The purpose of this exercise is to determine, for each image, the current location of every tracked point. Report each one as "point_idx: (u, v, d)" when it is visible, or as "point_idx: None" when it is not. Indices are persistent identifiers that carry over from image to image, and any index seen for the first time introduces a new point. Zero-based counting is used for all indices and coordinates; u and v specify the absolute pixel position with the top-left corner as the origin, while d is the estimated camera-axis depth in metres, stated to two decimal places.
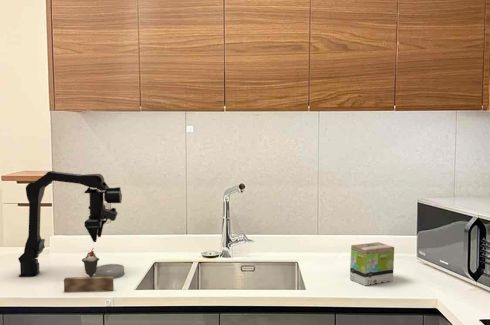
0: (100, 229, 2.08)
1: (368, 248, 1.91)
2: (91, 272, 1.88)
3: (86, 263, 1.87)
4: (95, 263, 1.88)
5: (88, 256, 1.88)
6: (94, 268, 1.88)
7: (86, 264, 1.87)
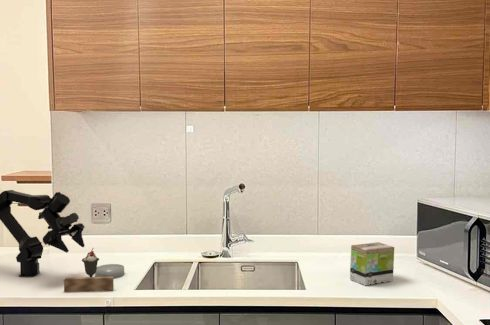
0: (79, 239, 1.97)
1: (368, 248, 1.91)
2: (91, 272, 1.88)
3: (86, 263, 1.87)
4: (95, 263, 1.88)
5: (88, 256, 1.88)
6: (94, 268, 1.88)
7: (86, 264, 1.87)
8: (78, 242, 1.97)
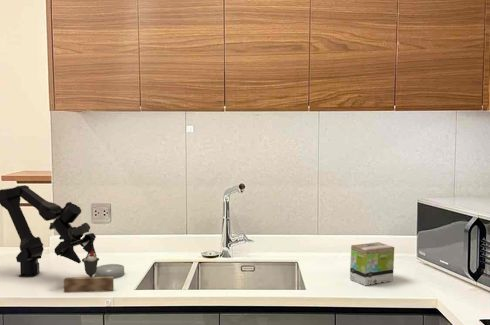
0: (91, 249, 1.95)
1: (368, 248, 1.91)
2: (91, 272, 1.88)
3: (86, 263, 1.87)
4: (95, 263, 1.88)
5: (88, 256, 1.88)
6: (94, 268, 1.88)
7: (86, 264, 1.87)
8: None
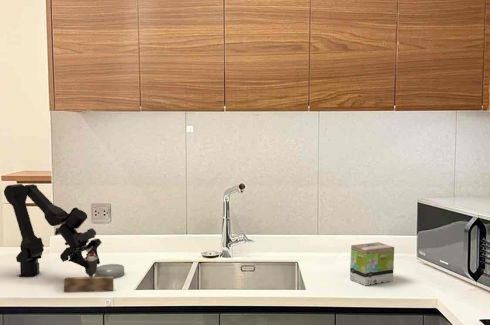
0: None
1: (368, 248, 1.91)
2: (91, 272, 1.88)
3: None
4: (95, 263, 1.88)
5: (88, 256, 1.88)
6: (94, 268, 1.88)
7: None
8: None
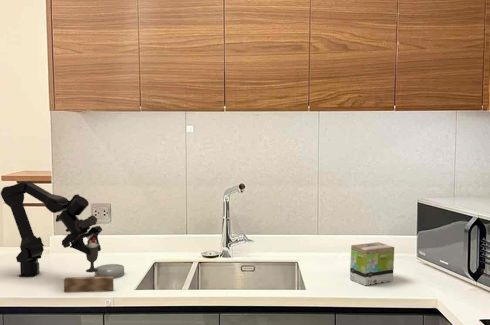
0: None
1: (368, 248, 1.91)
2: (92, 258, 1.88)
3: None
4: (96, 250, 1.89)
5: (90, 243, 1.88)
6: (95, 255, 1.89)
7: None
8: None
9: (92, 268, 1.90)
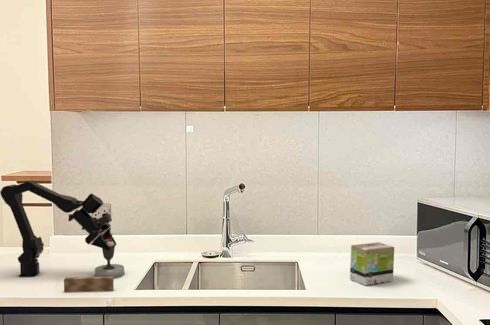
0: None
1: (368, 248, 1.91)
2: (111, 256, 2.00)
3: None
4: (114, 247, 2.01)
5: (107, 242, 2.00)
6: (113, 252, 2.01)
7: None
8: None
9: (109, 265, 2.01)
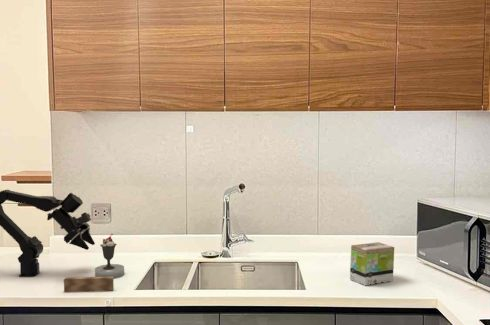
0: (89, 238, 2.06)
1: (368, 248, 1.91)
2: (111, 256, 2.00)
3: (107, 248, 1.99)
4: (114, 248, 2.01)
5: (108, 242, 2.00)
6: (113, 252, 2.01)
7: (106, 249, 1.99)
8: (87, 240, 2.06)
9: (109, 265, 2.01)
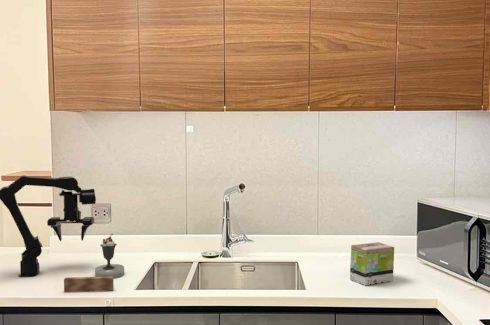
0: (60, 232, 2.09)
1: (368, 248, 1.91)
2: (111, 256, 2.00)
3: (107, 248, 1.99)
4: (114, 248, 2.01)
5: (108, 242, 2.00)
6: (113, 252, 2.01)
7: (106, 249, 1.99)
8: (60, 234, 2.08)
9: (109, 265, 2.01)
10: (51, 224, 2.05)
